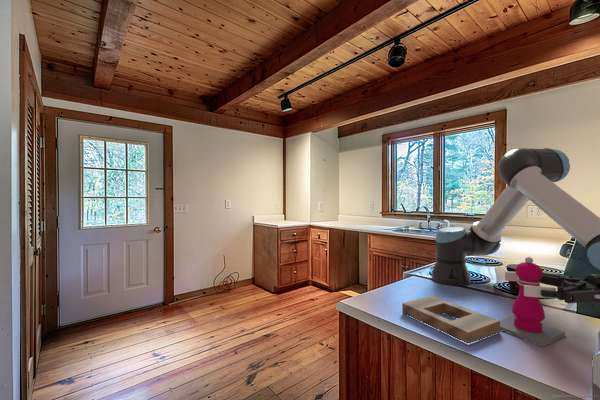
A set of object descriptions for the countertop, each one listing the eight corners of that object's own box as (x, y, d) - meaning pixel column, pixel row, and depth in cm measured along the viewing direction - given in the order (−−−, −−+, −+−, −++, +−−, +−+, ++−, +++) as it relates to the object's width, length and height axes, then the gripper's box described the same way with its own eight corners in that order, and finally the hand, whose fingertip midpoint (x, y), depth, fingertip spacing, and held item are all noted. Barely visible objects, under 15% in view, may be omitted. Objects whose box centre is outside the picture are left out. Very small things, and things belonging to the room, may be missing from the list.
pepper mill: (510, 319, 85) (511, 253, 84) (541, 325, 81) (542, 256, 80) (513, 329, 79) (514, 258, 78) (547, 336, 75) (549, 261, 74)
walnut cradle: (402, 313, 92) (402, 303, 92) (431, 305, 99) (431, 295, 99) (468, 345, 73) (468, 332, 73) (499, 333, 79) (499, 320, 79)
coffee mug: (504, 292, 110) (504, 267, 110) (508, 287, 116) (508, 262, 116) (543, 300, 102) (543, 272, 101) (546, 294, 108) (546, 268, 107)
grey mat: (492, 326, 82) (492, 323, 82) (515, 318, 88) (515, 315, 88) (542, 346, 72) (542, 342, 72) (565, 335, 77) (565, 331, 77)
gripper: (651, 325, 62) (534, 313, 69) (580, 288, 86) (498, 282, 92) (652, 291, 62) (534, 283, 69) (580, 263, 85) (498, 259, 92)
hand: (513, 282), depth 81 cm, fingers open, 13 cm apart
